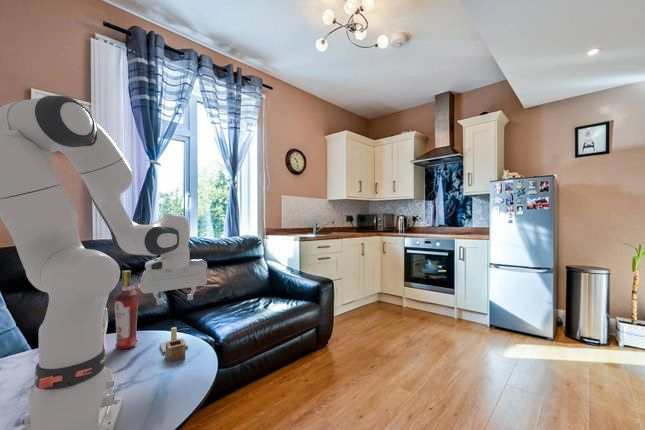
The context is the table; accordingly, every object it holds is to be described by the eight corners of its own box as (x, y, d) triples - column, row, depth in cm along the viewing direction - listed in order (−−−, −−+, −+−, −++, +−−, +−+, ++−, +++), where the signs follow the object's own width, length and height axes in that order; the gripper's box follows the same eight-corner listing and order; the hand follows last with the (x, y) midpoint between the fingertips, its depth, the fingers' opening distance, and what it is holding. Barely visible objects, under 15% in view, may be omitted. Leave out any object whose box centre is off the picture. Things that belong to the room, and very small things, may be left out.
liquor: (109, 350, 104) (109, 272, 104) (126, 341, 111) (126, 269, 111) (126, 352, 102) (126, 273, 102) (143, 343, 109) (143, 269, 109)
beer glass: (86, 349, 105) (86, 307, 105) (110, 345, 108) (110, 305, 108) (80, 357, 98) (80, 313, 98) (105, 353, 101) (105, 311, 101)
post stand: (187, 348, 105) (188, 329, 105) (163, 354, 101) (163, 334, 101) (183, 340, 112) (183, 322, 112) (159, 346, 107) (159, 327, 107)
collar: (185, 359, 98) (185, 344, 98) (168, 363, 95) (168, 348, 95) (181, 352, 102) (181, 338, 102) (165, 356, 99) (165, 341, 99)
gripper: (204, 257, 107) (204, 294, 107) (139, 263, 95) (139, 305, 95) (209, 259, 102) (209, 298, 102) (141, 266, 90) (141, 310, 90)
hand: (175, 302), depth 98 cm, fingers open, 8 cm apart
